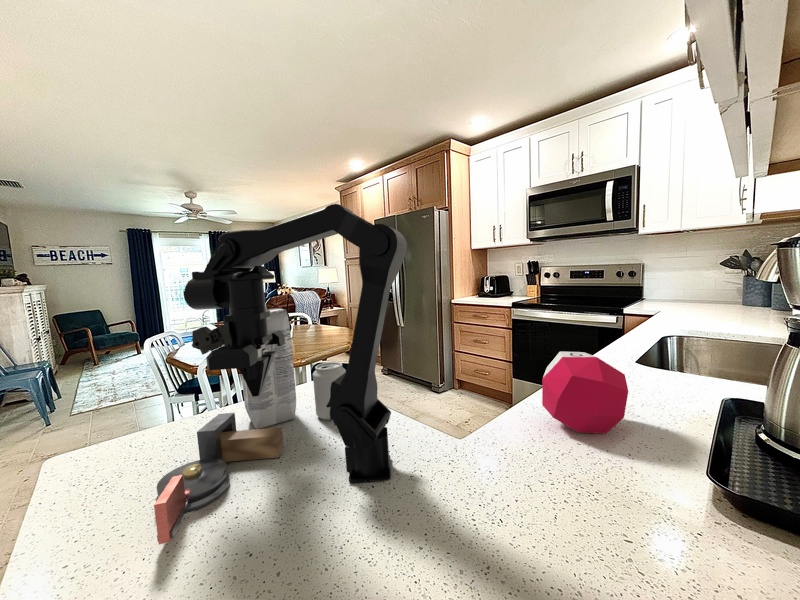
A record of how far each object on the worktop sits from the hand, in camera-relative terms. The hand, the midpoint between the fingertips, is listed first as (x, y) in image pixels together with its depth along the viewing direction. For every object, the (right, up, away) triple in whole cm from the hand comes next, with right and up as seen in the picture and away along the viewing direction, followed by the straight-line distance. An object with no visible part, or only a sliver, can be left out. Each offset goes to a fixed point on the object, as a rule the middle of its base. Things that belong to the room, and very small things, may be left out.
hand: (256, 395), depth 58 cm
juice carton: (-5, -11, +19) cm, 23 cm away
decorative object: (+61, -8, +7) cm, 62 cm away
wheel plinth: (-6, -13, -7) cm, 16 cm away
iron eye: (-8, -12, +3) cm, 15 cm away
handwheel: (-5, -12, -10) cm, 17 cm away
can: (+9, -10, +20) cm, 24 cm away
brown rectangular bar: (-4, -12, +3) cm, 13 cm away
